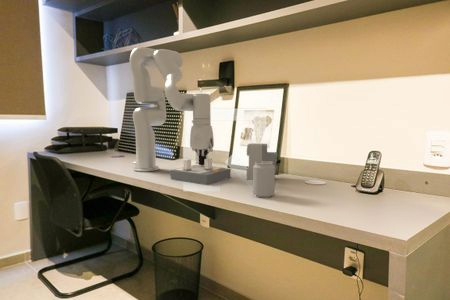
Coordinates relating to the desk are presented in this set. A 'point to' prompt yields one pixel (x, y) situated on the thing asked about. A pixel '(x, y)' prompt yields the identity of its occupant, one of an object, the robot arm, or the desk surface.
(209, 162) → the handle
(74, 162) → the desk surface
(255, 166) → the can
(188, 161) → the handle
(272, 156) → the circuit breaker
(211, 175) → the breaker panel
